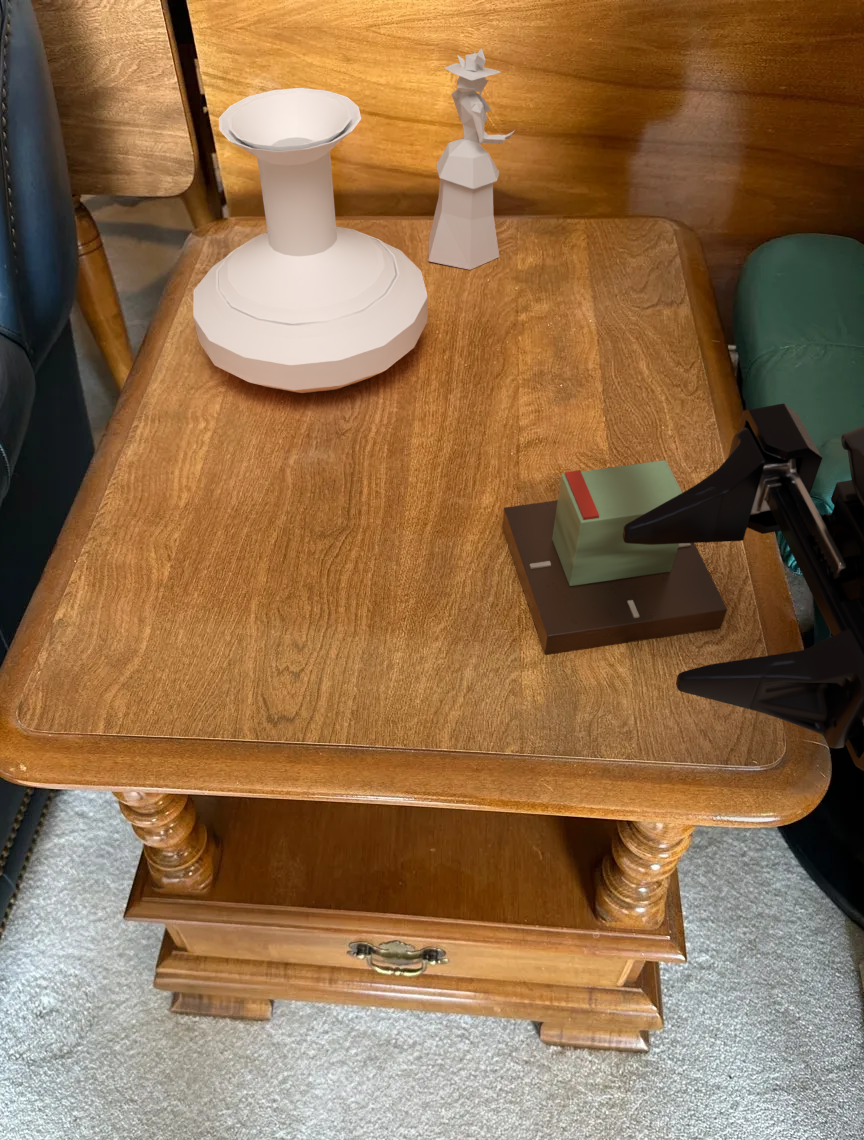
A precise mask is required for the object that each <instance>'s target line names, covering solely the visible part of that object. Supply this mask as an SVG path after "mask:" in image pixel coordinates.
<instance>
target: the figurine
mask: <svg viewBox="0 0 864 1140" xmlns="http://www.w3.org/2000/svg"><path fill="white" fill-rule="evenodd" d="M456 56H457V59H458V61H459V63H453V64H450V65H447V66H445V67H444V69H445V70H447V71H449V72H450V73H452V74H454V75H456V76H458V78H457V80H456V86H457V87H456V88H457V89H456V90H454V91H453V92H452V93H451V96H452V100H453V103H454V105H455V108H456V112H457V114H458V116H457V117H458V119H459V121H461V124H462V130H463V137H462V138H458V139H455V140H453V141H449V142H448V143H447V145H446V146H445V147H444V150H443V152H442V154H441V155H440V157H439V158H438V161H437V162H436V164H435V165H436V169H437V174H438V178H439V189H438V199H437V202H436V206H435V211H434V216H433V220H432V224H431V228H430V233H429V237H428V259H427V260H428V262H431V263H435V264H439V265H440V264H441V265H445V266H449V267H455V268H459V269H464V270H471V271H472V270H473V269H476V268H478V267H480V266H482V265H484V264H487V263H489V262H492V261H495V260H496V259H499V258H500V250H499V244H498V238H497V237H498V235H497V231H496V229H497V228H496V222H495V216H494V215H495V214H494V183H497V181H498V179H499V175H500V173H501V172H500V170H499V169H498V167H497V165H496V164H495V162H494V160H493V159H492V157H491V155H490V153H489V152H488V150H487V149H485V148H484V147H483V146H482V145H483V144H489V145H500V144H502V145H503V144H504V142H505V141H506V140H510V139H511V137H512V136H513V134H514V133H515V131H516V129H514V130H513V131H511V132H509V133H507V134H489V133H487V132H486V131H485V123H486V122H487V121H488V120H489V119H488V115H487V113H488V112H490V111H492V109H491V107H490V106H489V104H488V102H487V101H486V99H485V97H483V96H482V93H483V91H484V89H485V87H486V86H487V84H488V83H489V79H487V78H486V77H490V76H494V75H498V74H500V73H502V71H500V70H497V69H494V68H490V67H489V68H488V67H485V63H486V61H487V60H486V56H485V54H484V51H483V48H482V47H480V49H479V50H478V52H476V49H474V53H471V54H465V55H464V56H465V57H464V58H462V57H461V56H460V55H458V54H456Z"/></svg>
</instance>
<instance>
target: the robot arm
mask: <svg viewBox="0 0 864 1140" xmlns="http://www.w3.org/2000/svg"><path fill="white" fill-rule="evenodd" d="M809 433H810V432H809V430H807V428H806V426H805V424H804V422H803V421H802V419H801V417H800V415H799V414H798V413H797V412H796V411H795V410H793V409H792V408H791V407H789V406H788V405H787V404H786V403H784V402H783V403H778V404H773V405H766V406H762V407H756V408H751V409H744V410H742V413H741V417H740V421H739V425H738V430H737V432H736V433H735V434H734V435H733V436H732V440H731V445H730V448H729V453H728V456H727V458H726V459H725V461H724V462H723V463H722V464H721V465H720V466H719V467H718V468H717V469H716V470H715V471H713V472H712V473H711V474H709V475H708V476H707V477H705V478H704V479H702V480H701V481H699V482H697V484H695V485H694V486H691V487H690V488H688V489H686V490H685V491H682V492H683V493H681V494H679V495H678V496H676V497H674V498H672V499H670V500H669V501H667V502H665V503H663V504H661V505H660V506H658V507H656V508H654V509H652V510H651V511H649V512H647V513H645V514H643V515H642V516H640V517H638V518H636V519H634V520H633V521H631V522H629V523H627V524H626V525H625V526H624V528H623V536H622V537H623V540H624V542H625V543H629V544H645V545H659V544H682V543H695V544H699V543H702V544H703V543H724V542H725V543H726V542H728V543H729V542H742V541H744V539H745V536H746V532H747V529H749V530H751V531H754V532H757V533H759V534H762V535H765V534H769V533H771V534H772V533H776V532H780V533H781V535H782V536H783V538H784V540H785V542H786V544H787V547H788V549H789V551H790V553H791V555H792V556H793V559H794V561H795V563H796V564H797V567H798V569H799V570H800V573H801V575H802V577H803V579H804V581H805V583H806V585H807V588H808V589H809V591H810V593H811V595H812V598H813V599H814V601H815V603H816V605H817V607H818V609H819V611H820V613H821V615H822V617H823V619H824V621H825V623H826V625H827V627H828V629H829V631H830V634H831V635H832V636H830V637H828V638H826V639H824V640H822V641H820V642H818V643H815V644H814V645H811V646H810V647H807V648H805V649H802V650H797V651H789V652H782V653H776V654H769V655H762V656H757V657H756V656H755V657H750V658H743V659H736V660H729V661H723V662H716V663H711V664H706V665H701V666H699V667H695V668H691V669H687V670H684V671H681V672H679V673H678V674H677V675H676V680H675V686H676V689H677V690H678V691H679V692H680V693H683V694H684V693H685V694H688V695H692V696H696V697H700V698H705V699H708V700H712V701H714V702H715V701H716V702H719V703H723V704H726V705H731V706H735V707H739V708H742V709H747V710H750V711H752V712H753V711H754V712H757V713H761V714H764V715H768V716H770V717H773V718H776V719H779V720H781V721H784V722H787V723H788V724H789V723H790V724H793V725H795V726H797V727H801V728H804V729H805V730H810V731H811V732H815V733H817V734H820V735H821V736H822V737H823V738H824V741H825V743H826V745H827V746H828V747H829V748H831V749H842V748H844V747H845V746H846V749H847V751H848V753H849V756H850V757H851V759H852V762H853V764H854V766H855V767H856V768H858V769H860V770H861V771H863V772H864V425H862V426H860V427H857V428H855V429H852V430H850V431H847V432H844V433H842V435H841V438H840V441H841V447H842V449H843V450H845V451H847V455H848V456H847V457H848V463H849V471H850V479H847V480H843V481H838V482H836V484H835V487H834V489H833V491H832V494H831V497H830V501H831V503H832V505H833V508H832V510H831V513H825V514H823V515H820V512H819V510H818V508H817V507H816V505H815V504H814V503H815V502H814V501H813V499H812V498H811V492H812V490H813V487H814V484H815V482H816V478H817V475H818V472H819V470H820V466H821V464H822V460H823V457H822V455H821V452H820V450H819V449H818V447H817V445H816V444H815V442H814V441H813V438H812V436H811V435H810V434H809Z"/></svg>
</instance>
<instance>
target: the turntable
mask: <svg viewBox="0 0 864 1140" xmlns="http://www.w3.org/2000/svg"><path fill="white" fill-rule="evenodd" d="M557 502H558V499H555V500H549V501H541V502H534V503H527V504H520V505H512V506H506V507H505V506H504V507H503V513H502V514H503V515H502V525H501V526H502V527H501V528H502V530H503V533H504V536H505V540H506V543H507V545H508V548H509V551H510V554H511V557H512V560H513V564H514V567H515V569H516V573H517V576H518V578H519V582H520V584H521V586H522V587H521V588H522V591H523V594H524V597H525V600H526V603H527V606H528V608H529V612H530V615H531V618H532V620H533V621H532V622H533V624H534V626H535V630H536V633H537V636H538V639H539V642H540V645H541V648H542V651H543V653H544V655H546V656H547V655H553V654H557V653H566V652H572V651H578V650H585V649H591V648H592V649H593V648H599V647H605V646H613V645H619V644H625V643H626V644H627V643H631V642H639V641H644V640H645V641H646V640H652V639H658V638H664V637H665V638H666V637H672V636H678V635H686V634H691V633H698V632H699V633H700V632H704V631H711V630H712V631H713V630H718V629H721V628H722V626H723V622H724V620H725V618H726V616H727V615H726V614H727V612H728V607H727V605H726V603H725V602H724V599H723V597H722V595H721V593H720V591H719V589H718V588H717V585H716V583H715V581H714V580H713V577H712V575H711V574H710V571H709V568H708V567H707V565H706V563H705V561H704V559H703V557H702V555H701V554H700V551H699V549H698V547H697V545H696V543H682V544H679V546H678V549H677V553H676V556H675V559H674V563H673V566H672V569H671V571H670V572H665V573H658V574H651V575H644V576H637V577H630V578H623V579H616V580H609V581H603V582H596V583H589V584H582V585H575V586H570V585H569V583H568V580H567V577H566V575H565V572H564V569H563V567H562V564H561V561H560V559H559V556H558V553H557V551H556V548H555V545H554V543H553V540H552V536H553V529H554V523H555V516H556V509H557Z"/></svg>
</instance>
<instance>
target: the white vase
mask: <svg viewBox="0 0 864 1140" xmlns="http://www.w3.org/2000/svg"><path fill="white" fill-rule="evenodd" d="M361 120H362V115H361V111H360V106H358V104H357V103H355V102H354V101H353V100H352V99H350V98H349V97H348V96H346V95H342V94H339V93H336V92H333V91H330V90H327V89H317V88H307V87H295V88H294V87H293V88H283V89H281V88H280V89H272V90H268V91H264V92H260V93H256V94H252V95H248V96H246V97H244V98H242V99H241V100H238V101H237V102H235V103H233V104H231V105H229V106H228V107H227V108H226V110H224V112H223V113H221V115H220V116H219V117H218V131H219V132H220V133H221V134H222V135H223V136H224V137H225V139H227V141H228V142H230V143H232V144H234V145H235V146H237V147H239V148H240V149H242V150H244V151H246V152H248V153H249V154H251V155H253V156H254V157H256V159H257V166H258V172H259V181H260V187H261V188H260V189H261V194H262V201H263V203H262V204H263V209H264V215H265V217H264V218H265V223H266V230H267V232H264V233H261V234H258V235H257V236H254V237H252V238H250V239H249V240H248V241H246V242H244V243H243V244H241V245H239V246H238V247H237V248H235V249H234V250H232V251H231V252H229V253H228V254H227V255H226V256H225V257H224V258H223V259H221V260H219V261H218V262H216V263H215V264H213V266H212V267H210V269H209V270H208V272H206V274H205V275H204V276H203V278H201V281H200V282H199V283H198V284H197V285H196V287H195V288H194V289H193V295H192V296H193V298H192V299H193V301H192V302H193V303H192V315H193V316H192V318H193V322H194V327H195V331H196V335H197V341H198V342H199V344H200V345H201V348H202V349H203V350H204V352H205V354H207V356H208V358H209V359H210V362H212V364H213V365H214V366H215V367H217V368H219V369H221V370H223V371H225V372H227V373H229V374H231V375H233V376H235V377H238V378H239V379H241V380H244V381H245V382H248V383H250V384H254V385H257V386H258V385H259V386H262V387H266V388H269V389H270V388H271V389H277V390H282V391H288V392H293V393H299V394H304V393H305V394H306V393H317V392H324V391H334V390H339V389H342V388H344V387H347V386H350V385H354V384H357V383H360V382H362V381H365V380H368V379H370V378H372V377H375V376H377V375H379V374H381V373H383V372H385V371H387V370H388V369H389V368H390V367H392V366H393V365H394V364H396V362H399V360H401V359H402V358H403V357H404V356H406V355H407V354H408V353H409V352H411V351H412V350H413V349H414V348H415V347H416V345H417V343H418V341H419V339H420V337H421V335H422V333H423V331H424V329H425V327H426V326H427V323H428V320H429V317H428V316H429V315H428V313H429V312H428V311H429V310H428V307H429V306H428V305H429V303H428V300H429V298H428V291H427V288H426V284H425V281H424V276H423V273H422V270H421V269H420V268H419V267H418V266H417V265H416V264H415V263H414V262H413V261H412V260H411V259H410V258H409V257H408V256H407V255H406V254H405V253H404V252H403V251H402V250H401V249H399V248H397V247H394V246H392V245H390V244H388V243H386V242H384V241H383V240H381V239H379V238H377V237H374V236H372V235H368V234H366V233H364V232H361V231H359V230H356V229H353V228H348V227H343V226H337V223H336V222H337V221H336V208H335V207H336V206H335V197H334V183H333V172H332V171H333V170H332V157H331V150H333V149H334V148H335V147H336V146H337V145H339V143H341V142H342V141H343V140H344V139H345V138H346V137H347V136H348V135H350V134H351V133H352V132H353V131H354V130H355V128H356V127H357V126H358V124H359V123H360V122H361Z"/></svg>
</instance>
